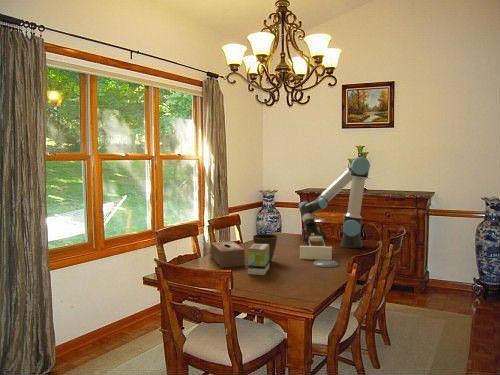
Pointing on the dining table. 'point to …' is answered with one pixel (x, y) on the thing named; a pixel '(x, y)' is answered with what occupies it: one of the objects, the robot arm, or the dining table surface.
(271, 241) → the plant pot
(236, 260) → the tissue box cover
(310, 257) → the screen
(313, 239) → the disposable coffee cup
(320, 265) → the plate
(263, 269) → the tea box
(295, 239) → the dining table surface
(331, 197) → the robot arm
